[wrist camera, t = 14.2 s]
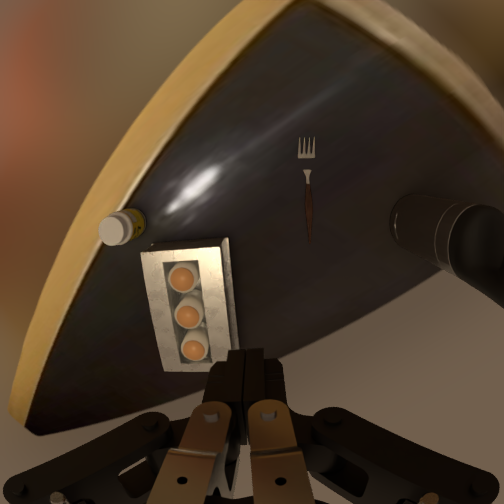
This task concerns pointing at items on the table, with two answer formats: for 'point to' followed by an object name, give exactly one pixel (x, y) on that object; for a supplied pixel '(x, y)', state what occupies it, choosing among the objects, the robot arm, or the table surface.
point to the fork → (308, 186)
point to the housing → (167, 299)
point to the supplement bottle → (122, 226)
